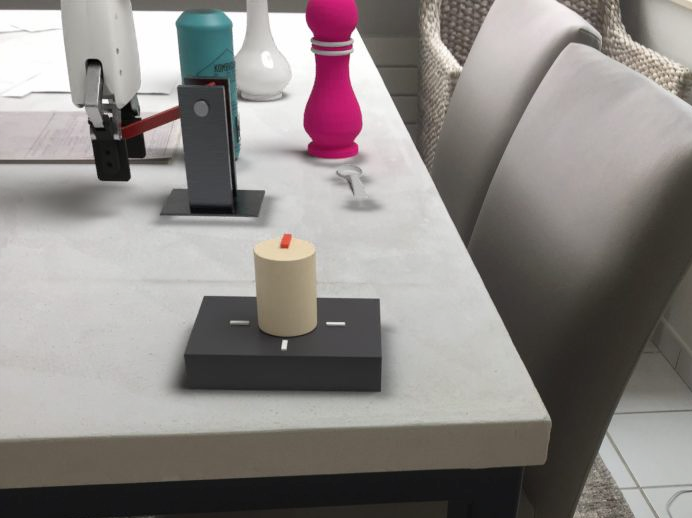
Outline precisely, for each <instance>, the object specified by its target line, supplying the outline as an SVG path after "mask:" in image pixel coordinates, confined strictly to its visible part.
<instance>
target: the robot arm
mask: <svg viewBox="0 0 692 518" xmlns="http://www.w3.org/2000/svg"><path fill="white" fill-rule="evenodd" d="M132 7H133V5H132V2H131V0H60V15H61V26H62V27H61V28H62V37H63V44H64V52H65V59H66V68H67V75H68V83H69V89H70V97H71V102H72V104H73V105H74V107H76V108H77V109H83V108H84V110H85V112H86V115H87V124H88V125H89V136H90V137H89V138H90V141H91V147H92V152H93V159H94V164H95V170H96V176H97V179H98V181H100V182H121V183H122V182H129V181H130V180H131V179H132V173H131V166H130V160H129V159H138V160H139V159H145V158H146V156H147V148H146V141H145V134H144V133H145V132H144V133H141V134H139V135H136V136H134V137H131V138H129V139H126V138H122V131H121V123H122V124H124V125H125V126H127V125H130V124H132V123H135V122H137V121H140V120H142V119H143V118H142V117H141V106H140V102H139V98H138V92H139V91H140V89H141V85H142V73H141V63H140V53H139V47H138V39H137V32H136V26H135V20H134V19H135V18H134V13H133V8H132ZM103 100H107V103H103ZM109 114H111V115H112V116H109Z"/></svg>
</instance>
